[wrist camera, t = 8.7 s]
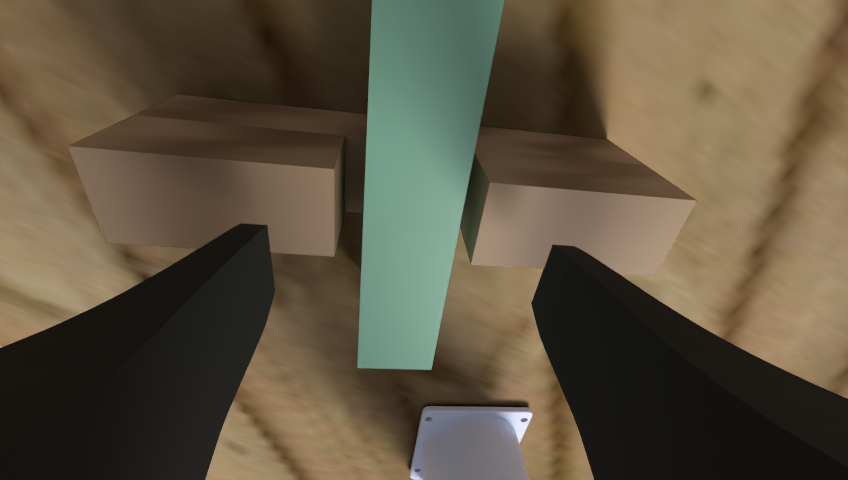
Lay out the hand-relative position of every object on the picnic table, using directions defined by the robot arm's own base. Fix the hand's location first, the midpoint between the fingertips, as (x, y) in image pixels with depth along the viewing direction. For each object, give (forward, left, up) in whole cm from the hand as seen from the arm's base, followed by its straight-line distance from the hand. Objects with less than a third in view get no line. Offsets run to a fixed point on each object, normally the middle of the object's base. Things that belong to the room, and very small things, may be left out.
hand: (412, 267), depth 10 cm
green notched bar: (0, 0, -8) cm, 8 cm away
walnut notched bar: (0, 0, -8) cm, 8 cm away
